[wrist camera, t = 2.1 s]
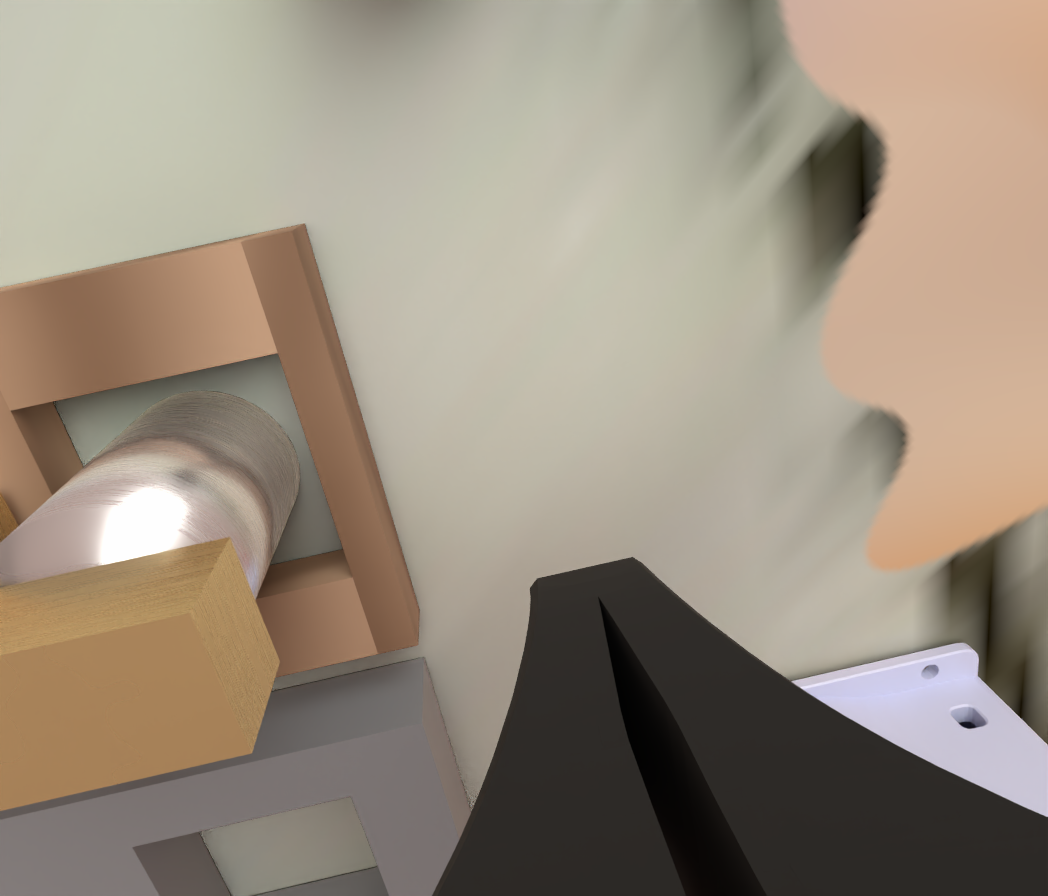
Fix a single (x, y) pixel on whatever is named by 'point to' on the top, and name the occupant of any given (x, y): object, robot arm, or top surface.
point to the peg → (167, 492)
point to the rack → (264, 800)
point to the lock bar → (128, 671)
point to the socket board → (198, 343)
